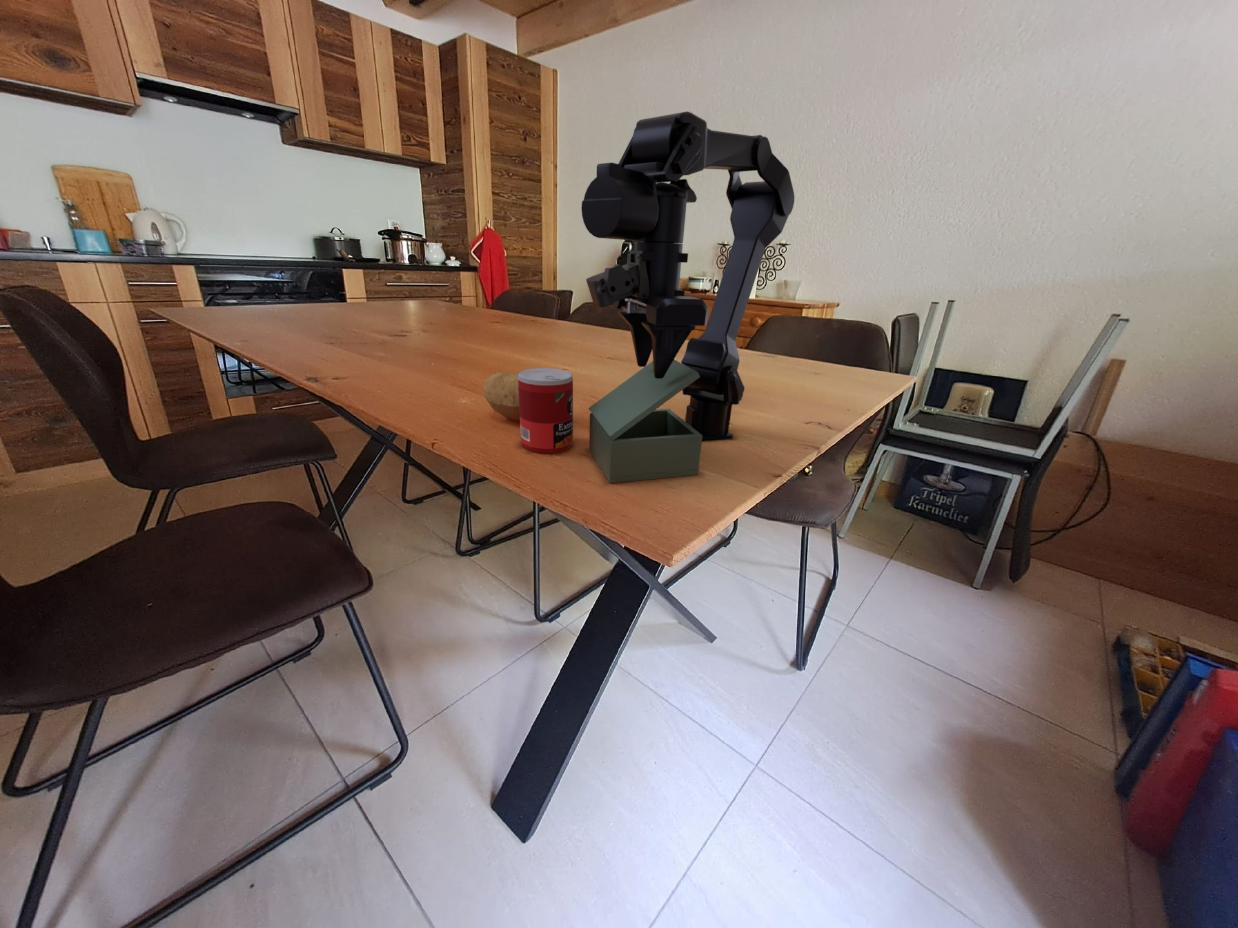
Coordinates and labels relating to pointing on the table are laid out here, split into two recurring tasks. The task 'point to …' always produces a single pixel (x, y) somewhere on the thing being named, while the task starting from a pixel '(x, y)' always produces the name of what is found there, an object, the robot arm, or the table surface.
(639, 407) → the lid
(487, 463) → the table surface
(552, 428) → the canned food
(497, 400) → the potato
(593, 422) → the chest
